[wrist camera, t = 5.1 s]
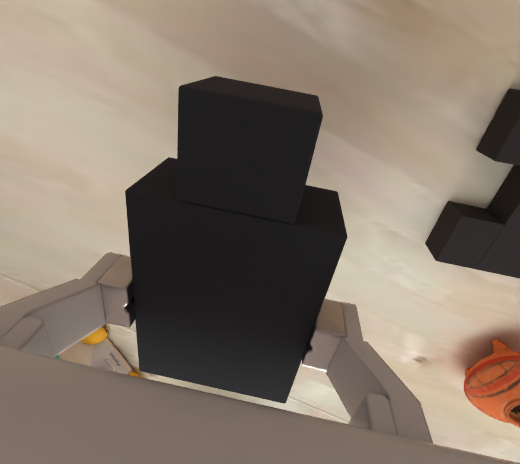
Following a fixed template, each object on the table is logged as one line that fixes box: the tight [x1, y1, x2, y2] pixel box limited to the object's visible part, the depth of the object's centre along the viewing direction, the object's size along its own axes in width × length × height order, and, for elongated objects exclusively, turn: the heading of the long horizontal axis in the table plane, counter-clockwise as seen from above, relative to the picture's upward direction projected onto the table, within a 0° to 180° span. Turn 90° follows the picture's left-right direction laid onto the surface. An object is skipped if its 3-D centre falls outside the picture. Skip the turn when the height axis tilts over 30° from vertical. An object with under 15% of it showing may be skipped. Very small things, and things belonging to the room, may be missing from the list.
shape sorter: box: [55, 327, 141, 378], centre depth 32 cm, size 20×10×18 cm, turn 20°
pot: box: [464, 340, 520, 428], centre depth 28 cm, size 8×8×7 cm
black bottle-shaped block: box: [125, 76, 347, 403], centre depth 11 cm, size 6×11×3 cm, turn 171°
